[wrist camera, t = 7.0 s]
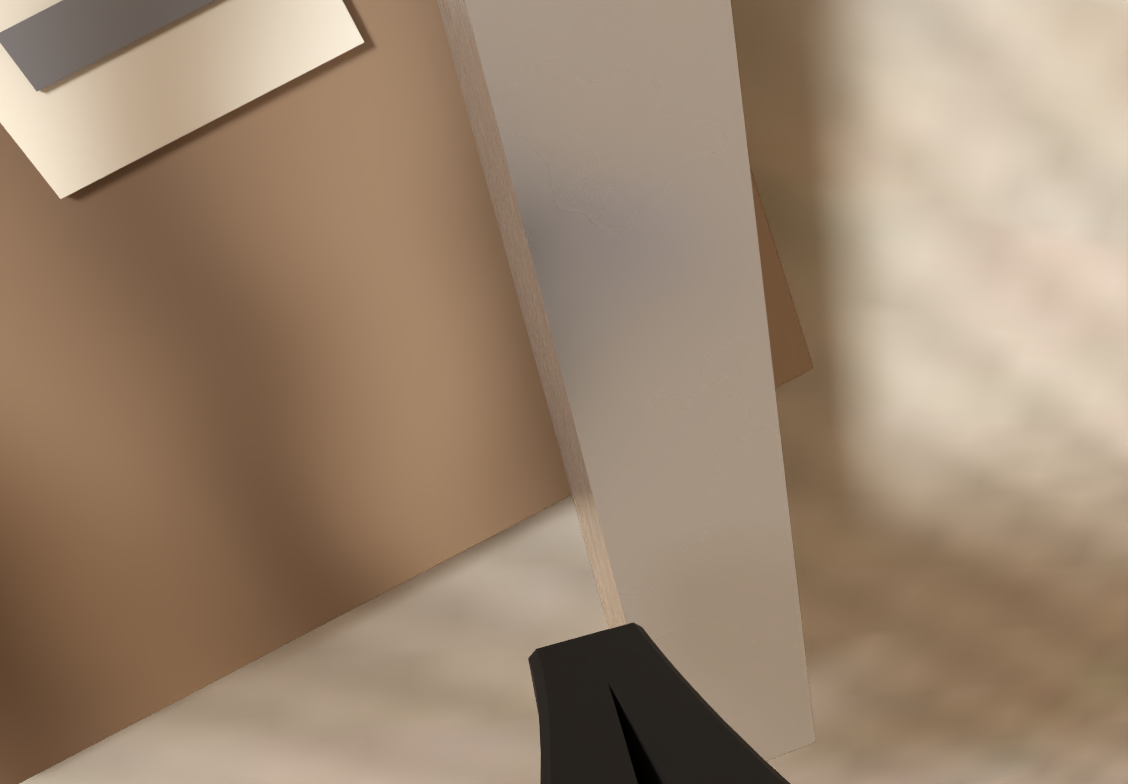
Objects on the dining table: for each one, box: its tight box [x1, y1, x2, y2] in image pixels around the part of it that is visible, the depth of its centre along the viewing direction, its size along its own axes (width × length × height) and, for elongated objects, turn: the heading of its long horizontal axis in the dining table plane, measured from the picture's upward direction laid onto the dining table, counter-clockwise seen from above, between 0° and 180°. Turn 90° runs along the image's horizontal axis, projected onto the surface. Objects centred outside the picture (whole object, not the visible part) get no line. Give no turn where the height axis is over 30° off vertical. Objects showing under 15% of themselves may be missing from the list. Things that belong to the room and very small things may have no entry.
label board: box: [0, 0, 813, 784], centre depth 14 cm, size 20×16×2 cm
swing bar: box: [437, 0, 815, 761], centre depth 14 cm, size 18×4×3 cm, turn 13°
